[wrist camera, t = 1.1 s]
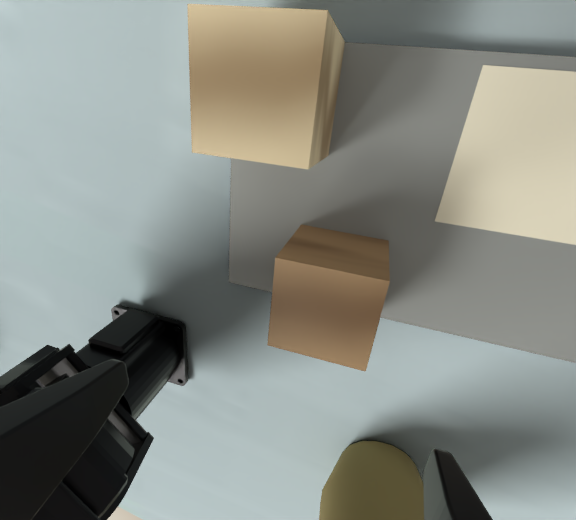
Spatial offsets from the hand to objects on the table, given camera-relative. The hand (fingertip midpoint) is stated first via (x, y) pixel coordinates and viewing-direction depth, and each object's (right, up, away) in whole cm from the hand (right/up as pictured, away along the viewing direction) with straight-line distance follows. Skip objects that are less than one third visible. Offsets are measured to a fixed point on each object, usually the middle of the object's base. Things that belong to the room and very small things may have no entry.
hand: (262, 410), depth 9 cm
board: (+8, +7, +8) cm, 13 cm away
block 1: (+1, +12, +7) cm, 14 cm away
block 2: (+4, +4, +10) cm, 11 cm away
